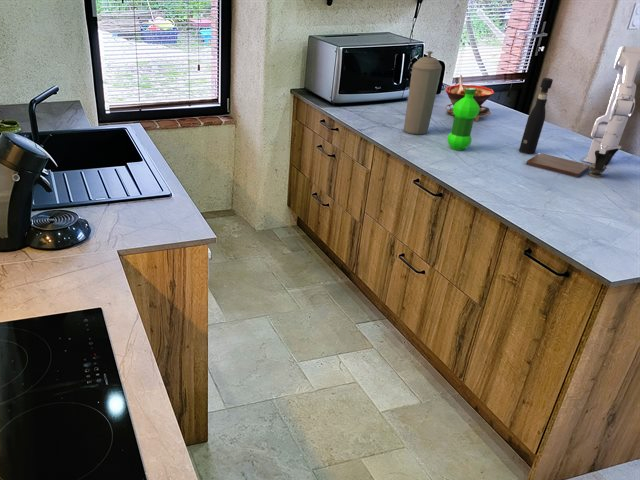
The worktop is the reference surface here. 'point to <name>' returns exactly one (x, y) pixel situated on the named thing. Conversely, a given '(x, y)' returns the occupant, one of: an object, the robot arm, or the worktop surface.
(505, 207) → the worktop surface
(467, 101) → the plastic bottle
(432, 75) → the canister
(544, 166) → the cutting board
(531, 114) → the black bottle
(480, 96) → the stew
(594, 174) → the grey stone baluster
